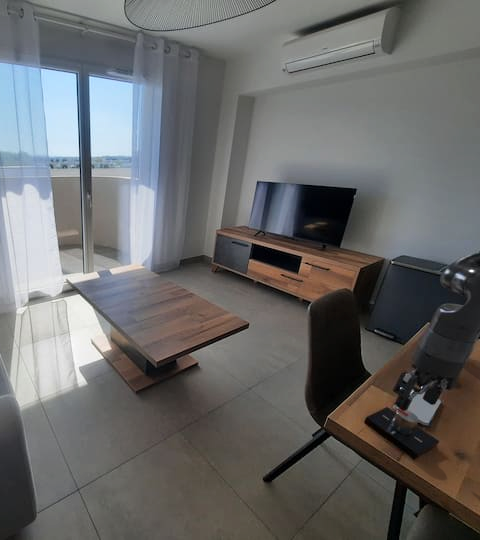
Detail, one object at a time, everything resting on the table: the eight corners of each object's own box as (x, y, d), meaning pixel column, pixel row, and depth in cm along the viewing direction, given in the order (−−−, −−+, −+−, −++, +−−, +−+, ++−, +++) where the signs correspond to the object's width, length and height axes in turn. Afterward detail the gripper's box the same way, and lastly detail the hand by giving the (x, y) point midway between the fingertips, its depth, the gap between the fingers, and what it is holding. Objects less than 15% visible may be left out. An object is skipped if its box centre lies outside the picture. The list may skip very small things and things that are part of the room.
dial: (415, 432, 72) (423, 418, 70) (406, 437, 71) (413, 423, 69) (396, 419, 76) (403, 405, 74) (387, 424, 74) (393, 410, 72)
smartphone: (442, 400, 83) (428, 425, 75) (441, 403, 83) (427, 428, 75) (409, 384, 88) (392, 406, 81) (407, 387, 89) (391, 409, 81)
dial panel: (436, 446, 71) (440, 440, 70) (414, 460, 68) (418, 453, 67) (384, 412, 80) (387, 406, 79) (363, 422, 77) (366, 416, 76)
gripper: (446, 336, 68) (419, 388, 74) (398, 343, 66) (374, 397, 72) (489, 356, 61) (456, 412, 68) (437, 366, 59) (408, 423, 65)
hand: (414, 404), depth 70 cm, fingers open, 8 cm apart
